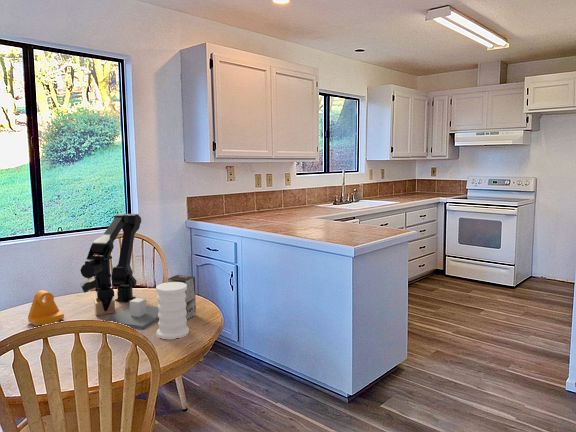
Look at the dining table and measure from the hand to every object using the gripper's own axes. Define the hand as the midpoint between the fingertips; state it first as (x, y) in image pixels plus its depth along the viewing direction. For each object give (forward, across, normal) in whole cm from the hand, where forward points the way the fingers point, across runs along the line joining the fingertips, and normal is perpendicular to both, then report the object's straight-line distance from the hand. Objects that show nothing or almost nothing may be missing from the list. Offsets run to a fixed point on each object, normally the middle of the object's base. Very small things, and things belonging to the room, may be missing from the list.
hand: (104, 308), depth 185 cm
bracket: (+2, +1, -21) cm, 21 cm away
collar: (+1, 0, 0) cm, 1 cm away
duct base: (+2, +13, +11) cm, 17 cm away
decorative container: (+2, +35, +20) cm, 41 cm away
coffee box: (+2, +19, +28) cm, 34 cm away
